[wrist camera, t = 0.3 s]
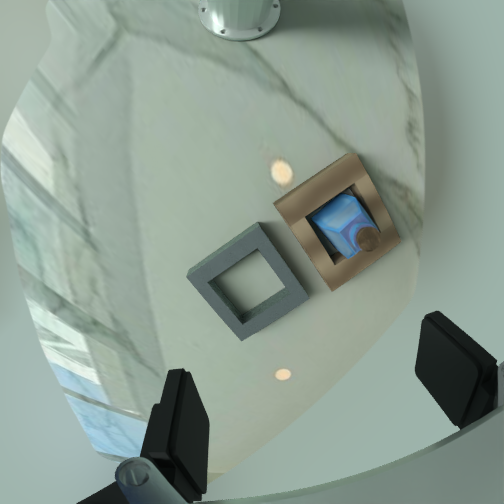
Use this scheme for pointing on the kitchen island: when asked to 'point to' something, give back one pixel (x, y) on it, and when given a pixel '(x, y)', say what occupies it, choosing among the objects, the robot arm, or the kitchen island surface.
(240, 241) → the block
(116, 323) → the kitchen island surface
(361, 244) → the perfume bottle
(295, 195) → the tan square frame
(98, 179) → the kitchen island surface
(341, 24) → the kitchen island surface
